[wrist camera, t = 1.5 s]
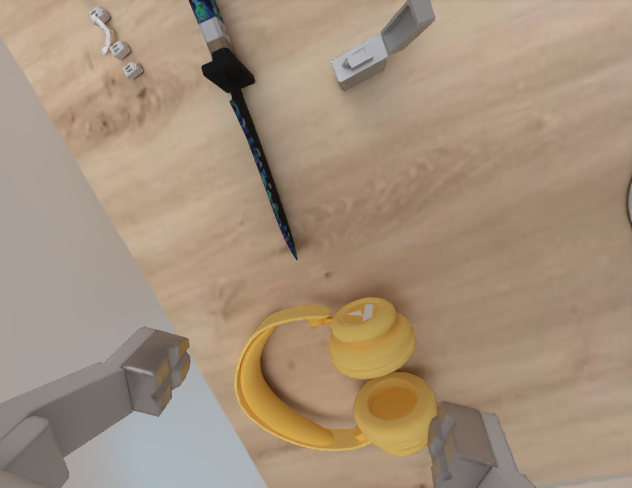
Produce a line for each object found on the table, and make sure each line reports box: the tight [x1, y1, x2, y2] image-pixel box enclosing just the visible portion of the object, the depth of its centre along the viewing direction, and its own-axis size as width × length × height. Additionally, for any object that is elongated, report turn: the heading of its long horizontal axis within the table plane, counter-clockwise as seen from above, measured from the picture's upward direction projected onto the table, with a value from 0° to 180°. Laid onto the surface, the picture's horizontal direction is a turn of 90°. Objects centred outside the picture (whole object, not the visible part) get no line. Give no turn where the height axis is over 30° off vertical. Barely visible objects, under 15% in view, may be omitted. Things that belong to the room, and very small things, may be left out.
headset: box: [234, 297, 437, 456], centre depth 34 cm, size 18×21×9 cm
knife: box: [189, 0, 298, 260], centre depth 29 cm, size 31×3×4 cm, turn 14°
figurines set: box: [88, 7, 143, 79], centre depth 29 cm, size 12×3×3 cm, turn 30°
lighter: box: [331, 0, 435, 91], centre depth 24 cm, size 7×2×8 cm, turn 115°
